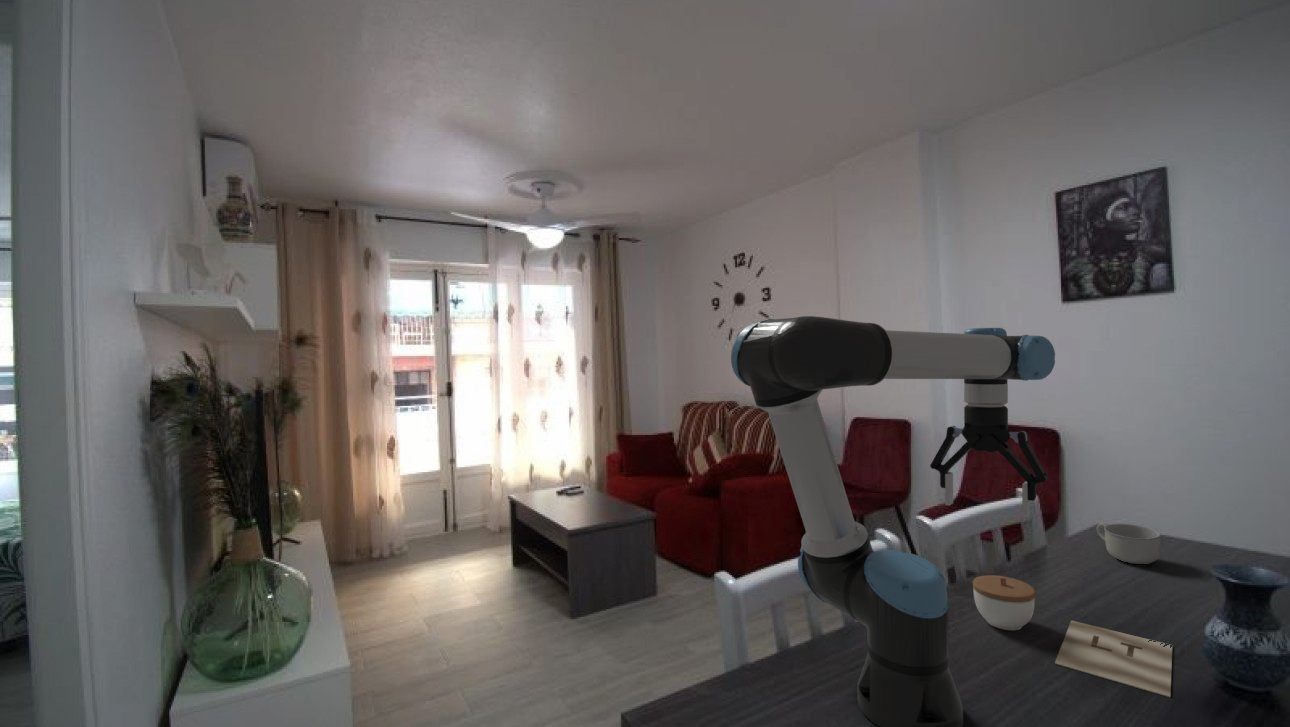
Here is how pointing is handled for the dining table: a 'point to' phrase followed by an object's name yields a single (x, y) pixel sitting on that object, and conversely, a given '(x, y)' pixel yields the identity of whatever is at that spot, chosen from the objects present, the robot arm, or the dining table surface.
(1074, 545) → the dining table surface
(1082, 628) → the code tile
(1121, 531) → the teacup
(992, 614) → the lidded jar
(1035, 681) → the dining table surface
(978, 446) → the robot arm
